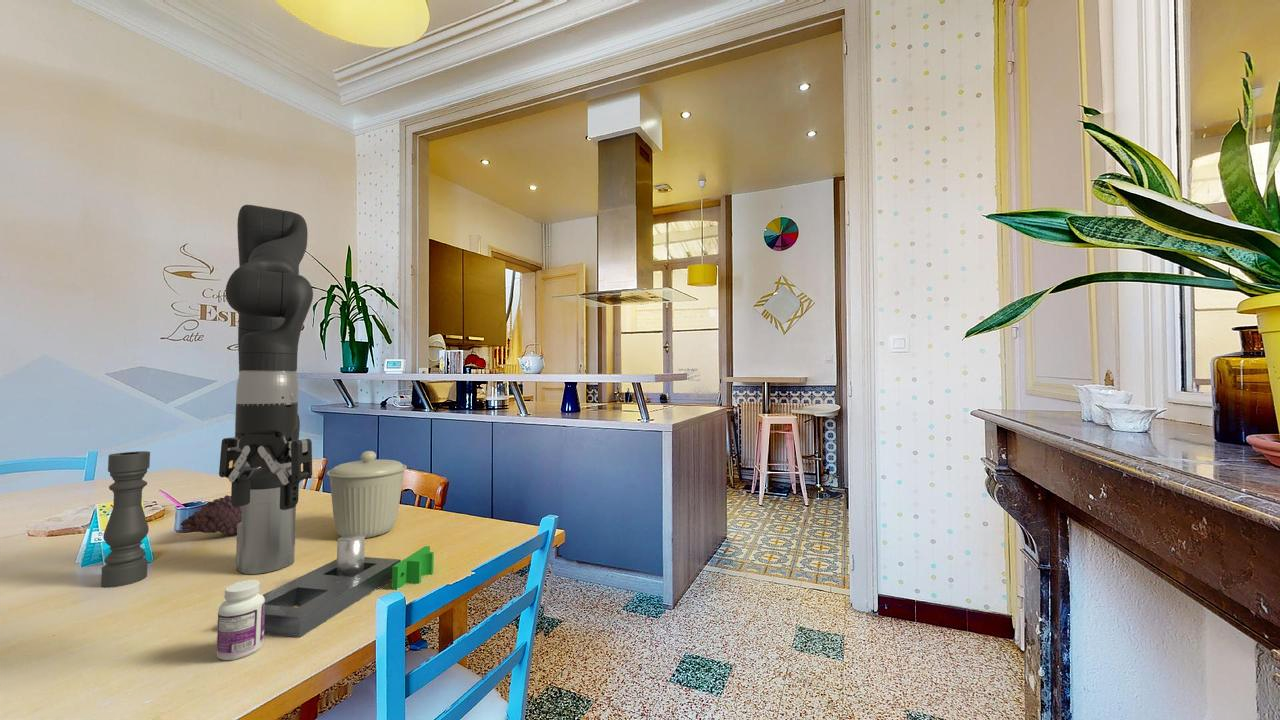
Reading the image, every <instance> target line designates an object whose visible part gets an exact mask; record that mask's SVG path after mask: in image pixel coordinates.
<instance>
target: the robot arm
mask: <svg viewBox="0 0 1280 720" xmlns="http://www.w3.org/2000/svg"><path fill="white" fill-rule="evenodd" d="M236 226H237V229H236V230H237V247H238V249H237V250H238V264H239V265H238V266H239V267H238V268H236V269H235V270H234V271H233V273H232V274H231V275H230V276H229V278H228V280H227V283H226V286H225V298H226V302H227V303H228V305H229V307H230V308H231V309H233V310H234V311H235V312H237V313H238V325H237V326H238V327H237V332H238V333H237V349H238V351H237V352H238V372H239V373H238V379H237V382H236V396H235V397H236V398H235V421H234V422H235V424H234V425H235V426H234V437H233V436H232V437H225V438H222V440H221V446H220V448H221V449H220V454H219V455H220V456H219V457H220V458H219V466H218V467H219V470H218V475H219V477H220V478H227V479H228V481H229V482H230V483H231V491H230V493H231V495H230V496H231V501H232V506H234V507H240V506H242V522H240V523H239V524H238V525H237V533H236V551H235V552H236V553H235V554H236V556H235V557H236V558H235V570H238V571H239V572H240V573H241V574H245V575H246V574H247V575H258V574H263V573H269V572H270V573H271V572H274V571H278V570H281V569H284V568H287V567H289V566H290V565H292V564H294V562H295V552H296V551H295V550H296V548H295V547H296V520H297V519H296V517H297V515H296V514H297V512H296V511H297V505H298V503H299V496H300V495H299V494H300V492H299V491H300V490H299V489H300V488H299V487H300V483H301V481H304V480H307V479H310V478H312V477H313V451H312V450H313V449H312V448H313V447H312V445H313V443H312V439H310V438H305V439H304V438H303V439H302V438H301V439H300V429H301V427H300V426H301V423H300V422H301V420H300V416H299V413H298V409H299V408H298V407H299V381H298V380H299V379H298V372H297V371H298V351H299V342H300V336H301V332H302V328H303V325H304V323H305V320H306V319H307V318H306V317H307V315H308V313H309V311H310V308H311V305H312V303H313V299H314V290H313V287H312V285H311V283H310V282H309V280H308V279H307V278H306V277H305V276H303V275H301V274H300V267H299V266H300V264H301V262H302V260H303V258H304V256H305V253H306V252H307V251H306V250H307V246H308V233H309V232H308V225H307V222H306V219H305V218H304V217H303V216H302V215H301V214H299V213H296V212H294V211H289V210H283V209H278V208H273V207H266V206H260V205H254V204H243V205H242V206H241V207H240V209H239V210H238V215H237V225H236ZM231 461H232V464H231V465H232V466H231V467H230V462H231Z"/></svg>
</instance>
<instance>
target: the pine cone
mask: <svg viewBox="0 0 1280 720" xmlns="http://www.w3.org/2000/svg"><path fill="white" fill-rule="evenodd" d="M240 522H242V506H240V507H234V506H232V501H231V495H227V494H226V495H224V497H220V498H216V499H213V501H209V502H207V504H205V505H203V507H202V508H201V509H200V510H196V511H194V514H192V515H190V516H189V515H188V517H187V518H186V519H184V520H182V522H181V523H180V526H181V527H180V528H181V530H182V531H184V530H185V531H188V530H189V531H190V532H196V533H204V534H215V533H218V532H219V533H221V535H224V536H232V535H235V534H237V525H238V524H239V523H240Z"/></svg>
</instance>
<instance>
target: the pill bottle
mask: <svg viewBox="0 0 1280 720" xmlns="http://www.w3.org/2000/svg"><path fill="white" fill-rule="evenodd" d="M260 584H261V583H260V581H259V580H257V579H249V580H242V581H237V582H234V583H232V584H230V585H228V586H226V588H224V589H225V590H224V595H223V596H224V597H223V598H224V599H225V601H223V602H222V603H221V604H220V606H219V607H218V611H217V633H216V635H217V637H216V639H217V641H216V642H217V644H216V654H217V655H216V656H217V658H218V659H220V660H222V661H234V660H238V659H242V658H245V657H248V656H250V655H252V654H255V652H258V651H259V650H260V649H261V648H262V647H263V645H264V642H265V634H264V618H265V599H264V596H263V594H262V593H259V592H260V589H261V588H260V586H261V585H260Z"/></svg>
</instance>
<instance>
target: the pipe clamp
mask: <svg viewBox="0 0 1280 720" xmlns="http://www.w3.org/2000/svg"><path fill="white" fill-rule="evenodd" d="M434 553H435V552H434V551H431V546H428V545H425V546H423V547H421V548H420V549H418V550H417V551H415V552H413V553H411V554H410V555H409V556H407V557H405V558H403V559H402V560H401V561H400V562H399V563H397V564H396V565H394V566H392V580H391V590H393V589H395V590H396V591H398V590H399V589H400V588H402V587H403V586H404V585H406V584H414V585H420V584H421V583H422V577H423V576H427V575H433V574H434V561H435V558H434V555H435V554H434ZM397 588H399V589H397ZM395 590H394V591H395Z"/></svg>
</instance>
